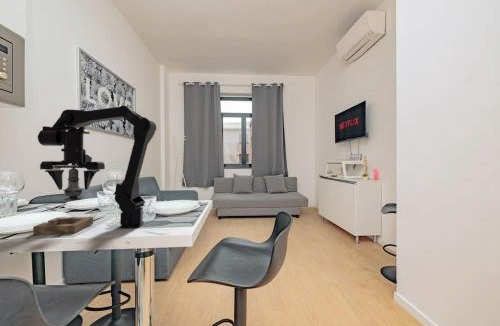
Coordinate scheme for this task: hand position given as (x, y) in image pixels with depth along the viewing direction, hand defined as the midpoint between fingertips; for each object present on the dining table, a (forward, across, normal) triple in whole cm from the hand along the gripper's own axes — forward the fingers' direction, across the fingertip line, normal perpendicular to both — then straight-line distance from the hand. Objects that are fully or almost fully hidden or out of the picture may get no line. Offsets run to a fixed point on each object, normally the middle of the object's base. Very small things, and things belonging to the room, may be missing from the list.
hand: (73, 189), depth 88 cm
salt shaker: (+4, 0, 0) cm, 4 cm away
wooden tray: (+13, 0, +4) cm, 14 cm away
